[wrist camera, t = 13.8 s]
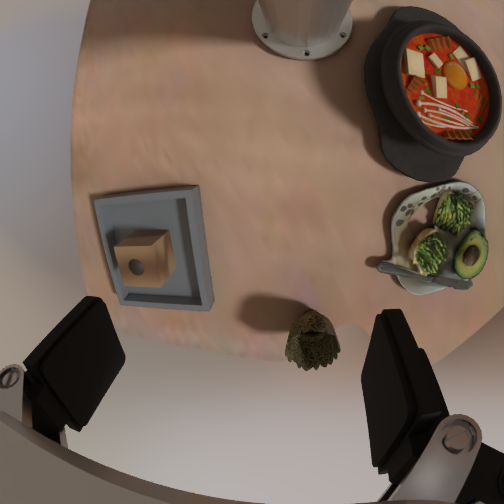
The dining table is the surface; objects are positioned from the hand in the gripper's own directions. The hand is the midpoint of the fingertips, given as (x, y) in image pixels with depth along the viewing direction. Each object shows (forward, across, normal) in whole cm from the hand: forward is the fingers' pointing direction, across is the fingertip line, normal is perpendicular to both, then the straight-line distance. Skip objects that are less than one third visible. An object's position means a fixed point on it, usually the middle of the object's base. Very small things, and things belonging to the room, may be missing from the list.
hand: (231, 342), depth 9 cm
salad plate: (+31, -24, +8) cm, 40 cm away
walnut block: (+29, +18, +10) cm, 36 cm away
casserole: (+31, -20, -13) cm, 39 cm away
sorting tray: (+30, +18, +10) cm, 36 cm away
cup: (+30, -5, +21) cm, 37 cm away
